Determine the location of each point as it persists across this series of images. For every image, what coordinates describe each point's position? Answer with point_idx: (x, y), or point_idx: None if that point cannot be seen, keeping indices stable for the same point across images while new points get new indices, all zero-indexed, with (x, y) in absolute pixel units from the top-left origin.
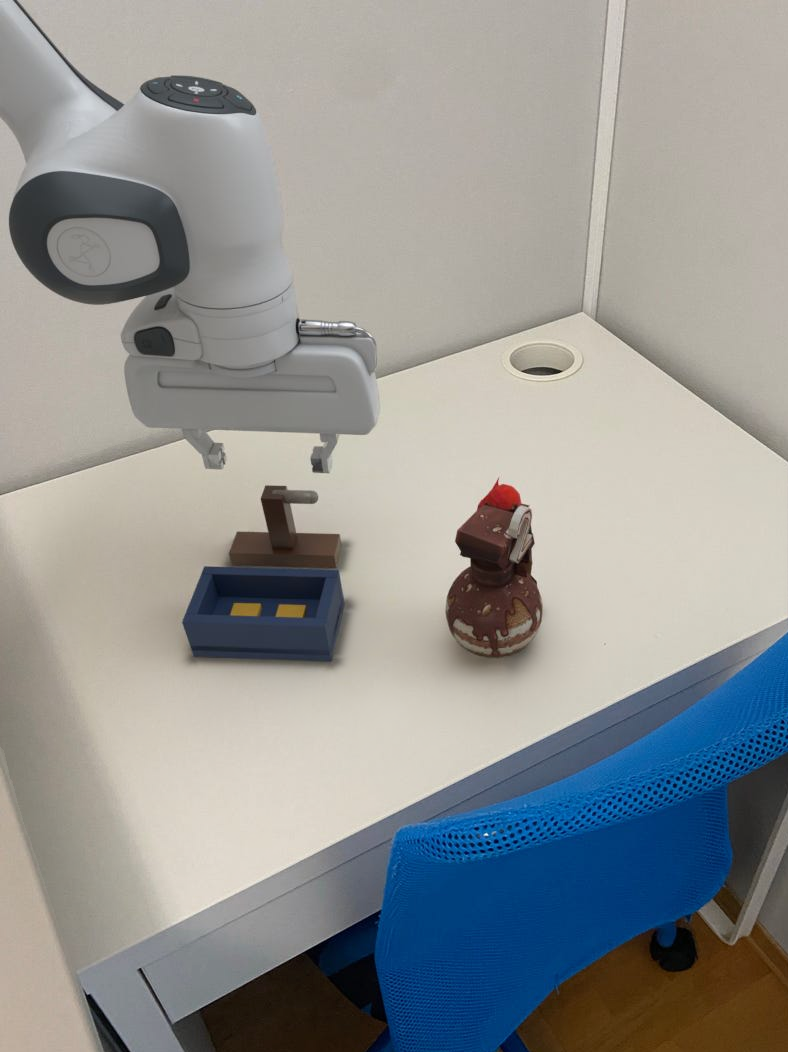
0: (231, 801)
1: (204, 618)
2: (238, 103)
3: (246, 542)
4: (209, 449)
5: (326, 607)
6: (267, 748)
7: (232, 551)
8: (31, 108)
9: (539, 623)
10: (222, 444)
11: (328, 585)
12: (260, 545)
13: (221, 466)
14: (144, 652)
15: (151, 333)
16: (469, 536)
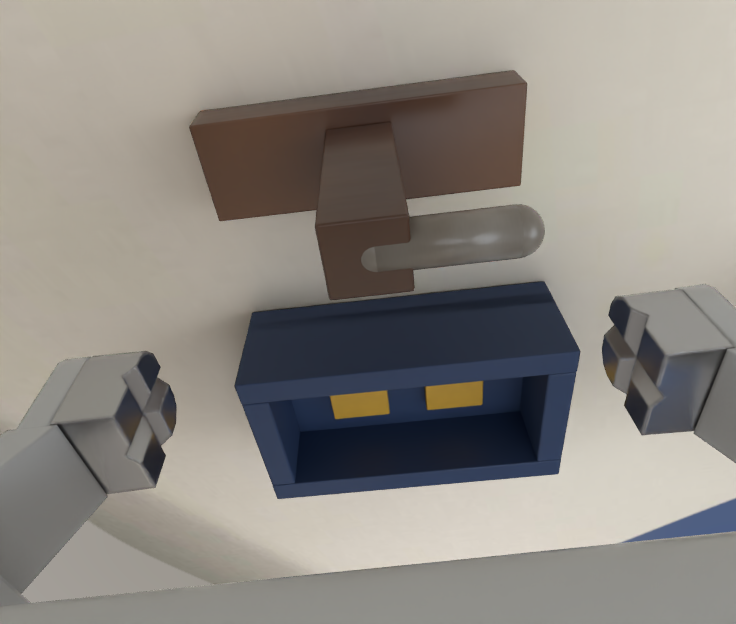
0: (436, 557)
1: (317, 490)
2: None
3: (246, 173)
4: (88, 481)
5: (558, 440)
6: (460, 512)
7: (225, 213)
8: None
9: None
10: (116, 424)
11: (557, 393)
12: (293, 178)
13: (173, 422)
14: (196, 425)
15: None
16: None
